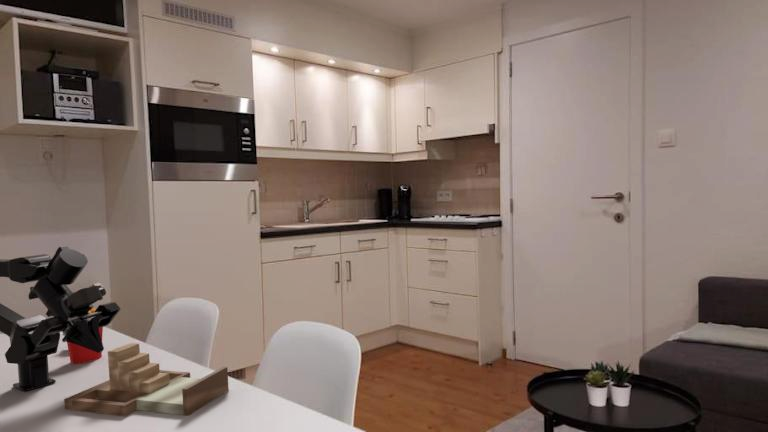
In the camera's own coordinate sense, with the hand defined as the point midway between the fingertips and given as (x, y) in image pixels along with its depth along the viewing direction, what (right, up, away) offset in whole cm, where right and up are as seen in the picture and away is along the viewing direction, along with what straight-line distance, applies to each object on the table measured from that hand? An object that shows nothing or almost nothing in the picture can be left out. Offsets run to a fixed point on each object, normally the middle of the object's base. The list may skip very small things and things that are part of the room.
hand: (101, 351), depth 114 cm
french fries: (-17, -9, +25) cm, 31 cm away
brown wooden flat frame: (+13, -9, -4) cm, 16 cm away
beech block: (+10, -7, -3) cm, 12 cm away
